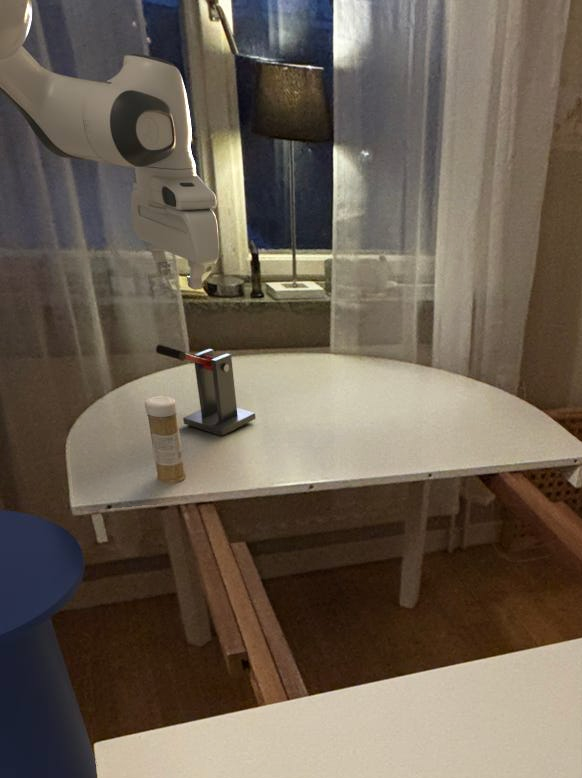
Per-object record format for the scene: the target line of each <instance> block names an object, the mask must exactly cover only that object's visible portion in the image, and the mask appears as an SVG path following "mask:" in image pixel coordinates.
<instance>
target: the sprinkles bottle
mask: <svg viewBox="0 0 582 778" xmlns="http://www.w3.org/2000/svg"><path fill="white" fill-rule="evenodd" d="M144 409H145V413H146V414H147V420H148V425H149V433H150V438H151V448H152V453H153V459H154V462H155V468H156V469H155V470H156V478H157V480H158V481H159V482H160V483H163V484H169V485H170V484H178V483H182V482H183V481H185V480H186V473H185V468H184V467H185V466H184V456H183V448H182V442H181V441H182V440H181V435H180V430H179V424H178V418H177V414H178V413H177V411H178V410H177V405H176V400H175V399H174V398H172V397H169V396H164V395H160V396H159V395H157V396H152V397H148V398H147V399H145V401H144Z"/></svg>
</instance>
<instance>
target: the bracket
mask: <svg viewBox="0 0 582 778" xmlns="http://www.w3.org/2000/svg"><path fill="white" fill-rule="evenodd" d="M205 355H207V356H210V357H214V359H211V364H212V371H210V370H207V369H203V364H199V363H196V362H193V363H194V370H195V377H196V384H197V392H198V399H199V408H200V410H197V411H195V412H193V413H191V414H189V415H185V416H184V417H182V421H183V424H184V425H186V426H190V427H193V428H197V429H200V430H203V431H206V432H209V433H212V434H215V435H219V436H225V435H226V434H229V433H230V432H232V431H234V430H236V429H238V428H240V427H242V426H244V425H247V424H248V423H250V422H252V421H254V420H256V419H257V418H256V413H255V412H253V411H249V410H246V409H243V408H241V407H238V405H237V398H236V387H235V378H234V369H233V359H232V354H231V353H225V354H224V353H223V354H222V355H219V356H217V357H215V351H214V349H212V348H208V349H204V350H203V351H200V352H197V353H194V354H193V355H192V356H196V357H199V358H203V359H204V358H205Z"/></svg>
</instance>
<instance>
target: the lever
mask: <svg viewBox="0 0 582 778" xmlns="http://www.w3.org/2000/svg"><path fill="white" fill-rule="evenodd" d="M155 352H156V354H157V355H159V356H163V357H166V358H170V359H174V360H177V361H179V362H184V361H188V362H193V363H194V362H196V363H199V364H203V369H207V370H210V371H212V364H211V359H214V358H215V356H214V357H210V356H207V355H205V358H204V359H203V358H199V357H196V356H193V355H192V354H188V353H186V352H185V351H184V350H182V349H178V348H174V347H171V346H167V345H164V344H158V345H156V348H155Z"/></svg>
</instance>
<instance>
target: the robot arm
mask: <svg viewBox="0 0 582 778" xmlns="http://www.w3.org/2000/svg"><path fill="white" fill-rule="evenodd" d="M32 4H33V3H32V0H0V93H1V94H2V95H3V96H4V97H5V98H6V99H7V100H8V101H9V102H10V103H11V104H12V105H13V106H14V107H15V108H16V109H17V110H18V111H19V113H20V114H21V115H22V116H23V119H25V121H26V122H27V124H28V125H29V126H30V128H31V130H32V131H33V133H34V135H35V136H36V137H37V138H38V140H39V141H40V142H41V143H42V145H43V146H44V147H45V148H46V149H47V150H48V151H50V152H51V153H52V154H54V155H55V156H57V157H59V158H65V159H77V160H88V161H94V162H98V163H103V164H109V165H116V166H121V167H128V168H134V173H135V180H134V182H133V184H132V188H133V190H132V191H131V193H130V212H131V223H132V230H133V232H134V233H133V234H134V235H135V237H136V238H137V239H138V240H140V241H142V242H145V243H147V244H148V247H149V251H150V253H151V254H150V255H151V256H152V258H153V260H154V263H155V266H156V272H157V274H159V275H161V276H171V274H172V270H171V263H169V262H168V258H167V256H166V253H165V252H168V253H170V254H173V255H175V256H178V257H180V258H182V259H184V260H187V266H188V268H190V269H189V275H187V276H186V280H187V286H188V288H190V289H192V290H195V291H196V290H197V291H198V290H202V289H203V276H204V272H205V268H206V265H213V264H214V265H215V264H217V262H218V261H219V258H220V239H219V229H218V228H219V227H218V221H217V217H216V214H215V212H214V211H213V210H212V209H216V208H217V196H216V194H215V192H214V191H212V189H211V188H209V187H208V186H207V185H206V184H205V183H204V181H203V180H202V179H201V178H200V176H199V175H197V169H196V162H195V160H194V157H193V154H192V148H191V140H192V134H193V132H192V122H191V115H190V108H189V102H188V96H187V91H186V88H185V84H184V80H183V77H182V74H181V72H180V70H179V68H178V67H176V65H174V64H173V63H171V62H169V61H168V60H165V59H162V58H159V57H154V56H150V55H147V54H141V53H129V54H125V55H124V56H123V64H122V67H121V69H120V70H119V72H118V73H116V75H114V76H112V78H110V79H108V80H106V82H105V81H103V82H102V81H95V80H91V79H83V78H77V77H72V76H67V75H65V74H61V73H57V72H53V71H51V70H48V69H46V68H45V67H43V66H42V65H41V64H40V63H39V62H38V61H37V60H36V59H35V58H34V57H33V56H32V55H31V53H29V51H28V50H26V48H25V47H24V46H23V44H24V43H25V42H26V39H27V38H28V35H29V32H30V30H31V25H32V20H33V5H32Z"/></svg>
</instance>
